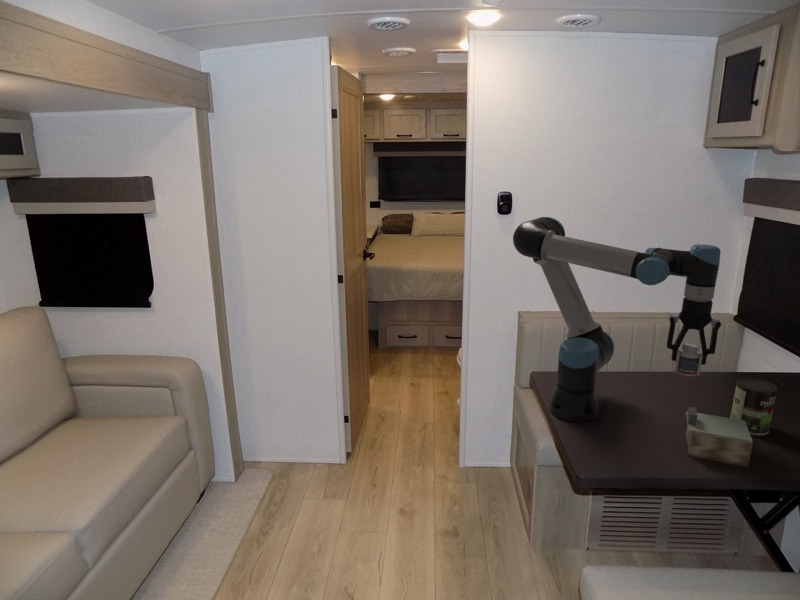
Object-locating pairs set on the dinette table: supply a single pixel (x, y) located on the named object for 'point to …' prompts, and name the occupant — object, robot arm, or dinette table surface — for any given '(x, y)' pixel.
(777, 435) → the dinette table surface
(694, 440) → the box
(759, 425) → the coffee can
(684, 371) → the pill bottle
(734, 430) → the lid
